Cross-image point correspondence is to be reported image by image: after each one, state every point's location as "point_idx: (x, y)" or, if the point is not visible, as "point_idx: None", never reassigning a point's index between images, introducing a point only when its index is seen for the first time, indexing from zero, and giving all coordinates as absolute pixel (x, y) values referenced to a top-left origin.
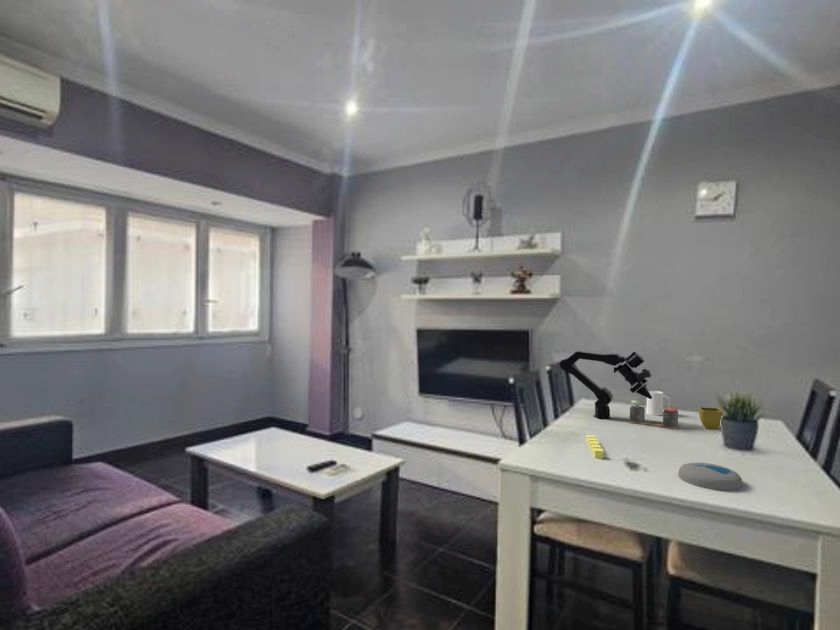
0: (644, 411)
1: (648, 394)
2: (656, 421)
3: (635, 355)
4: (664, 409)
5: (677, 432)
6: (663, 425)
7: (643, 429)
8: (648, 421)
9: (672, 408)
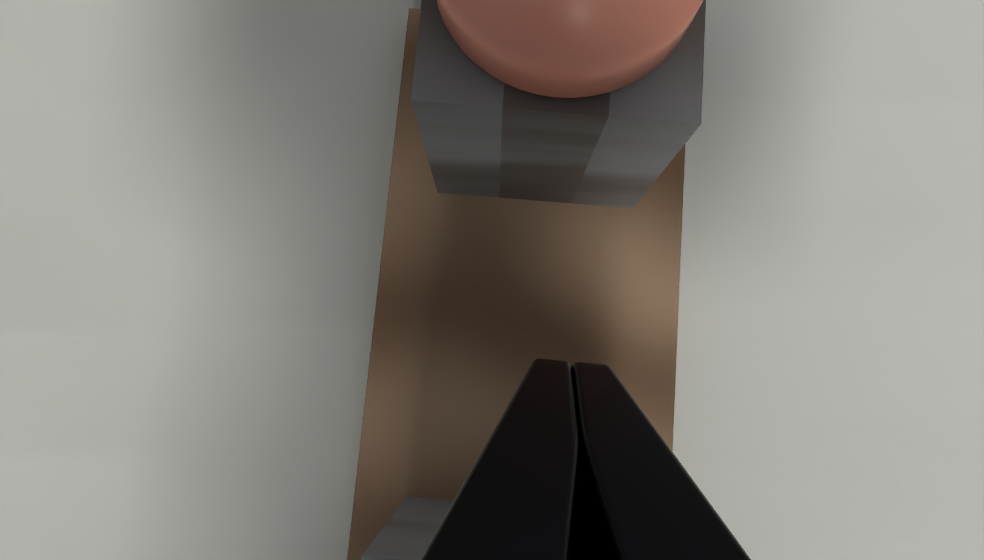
0: (403, 533)
1: (717, 558)
2: (401, 306)
3: None
4: (606, 84)
5: (858, 33)
6: (643, 200)
7: (967, 477)
8: (471, 427)
9: None
